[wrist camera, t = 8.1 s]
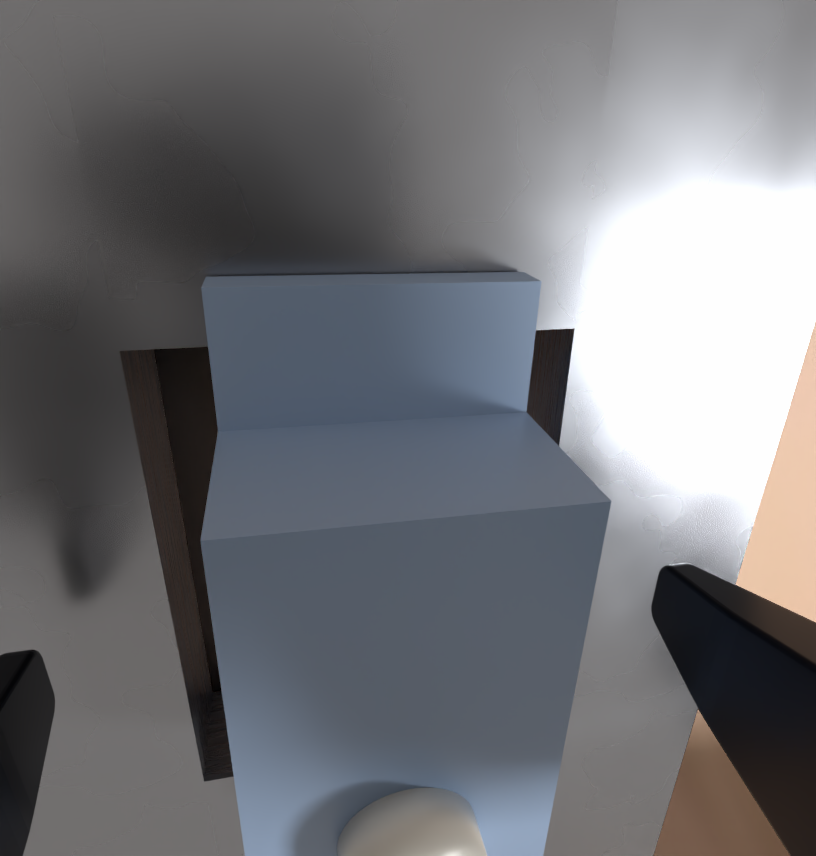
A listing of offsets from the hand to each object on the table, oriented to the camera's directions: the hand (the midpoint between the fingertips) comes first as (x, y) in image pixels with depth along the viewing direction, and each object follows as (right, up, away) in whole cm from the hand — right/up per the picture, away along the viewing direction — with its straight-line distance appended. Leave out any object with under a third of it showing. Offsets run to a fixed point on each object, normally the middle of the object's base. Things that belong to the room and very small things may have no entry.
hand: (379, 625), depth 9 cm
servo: (-1, +1, +3) cm, 3 cm away
